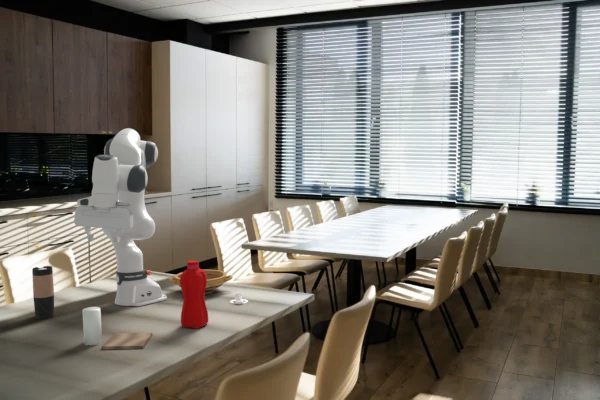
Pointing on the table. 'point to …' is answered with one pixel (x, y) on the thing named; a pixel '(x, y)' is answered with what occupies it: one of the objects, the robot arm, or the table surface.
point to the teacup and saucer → (238, 299)
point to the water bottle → (193, 296)
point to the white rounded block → (92, 326)
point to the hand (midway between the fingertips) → (103, 240)
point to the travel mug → (43, 292)
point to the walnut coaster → (127, 341)
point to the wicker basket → (208, 279)
